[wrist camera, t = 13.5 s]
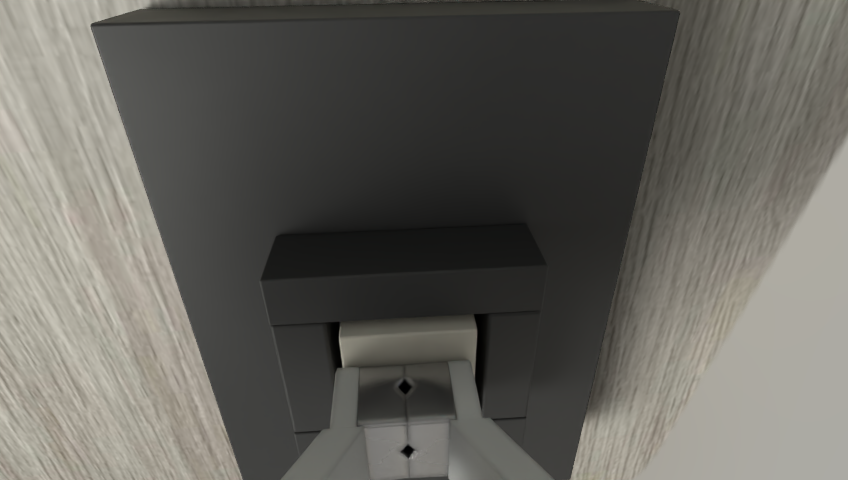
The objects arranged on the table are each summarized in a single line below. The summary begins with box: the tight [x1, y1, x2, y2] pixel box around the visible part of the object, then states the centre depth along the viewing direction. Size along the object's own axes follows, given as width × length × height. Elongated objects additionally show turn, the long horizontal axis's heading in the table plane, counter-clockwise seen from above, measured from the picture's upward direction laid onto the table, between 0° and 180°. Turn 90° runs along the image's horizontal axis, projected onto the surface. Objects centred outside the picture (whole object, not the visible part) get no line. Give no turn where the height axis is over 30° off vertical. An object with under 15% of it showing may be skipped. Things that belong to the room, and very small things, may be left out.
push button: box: [339, 314, 477, 379], centre depth 12 cm, size 3×3×2 cm
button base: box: [91, 0, 680, 480], centre depth 13 cm, size 11×15×4 cm
